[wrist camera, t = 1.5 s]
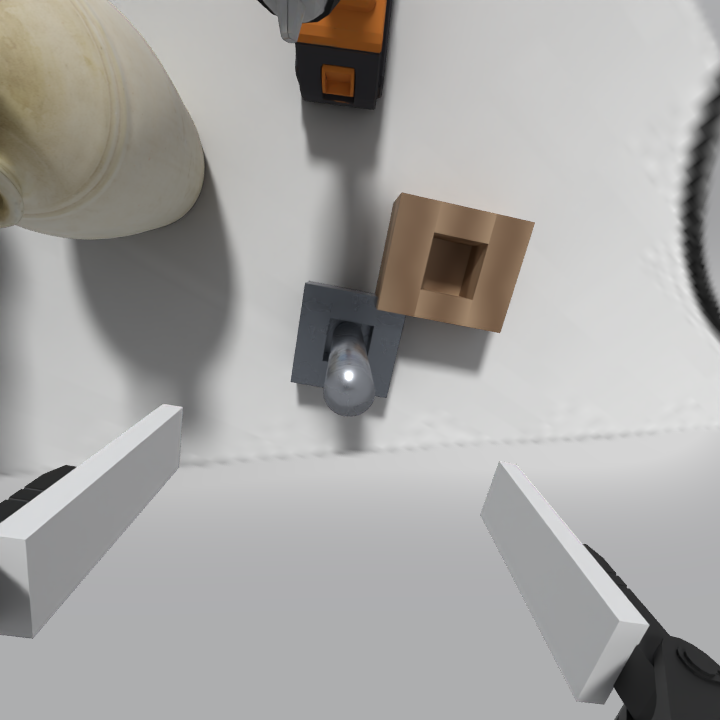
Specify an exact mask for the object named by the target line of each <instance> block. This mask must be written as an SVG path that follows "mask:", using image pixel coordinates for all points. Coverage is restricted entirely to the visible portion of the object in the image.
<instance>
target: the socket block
mask: <svg viewBox="0 0 720 720" xmlns="http://www.w3.org/2000/svg"><path fill="white" fill-rule="evenodd" d="M377 300H378V297H377V295H376V294H373V293H368V292H363V291H358V290H353V289H348V288H343V287H338V286H333V285H327V284H322V283H317V282H312V281H308V282H306V283H305V287H304V294H303V301H302V308H301V315H300V322H299V328H298V335H297V342H296V349H295V356H294V362H293V369H292V376H291V382H294V383H300V384H306V385H312V386H318V387H324V384H325V378H326V373H327V367H328V361H329V355H330V349H331V344H332V338H333V333H334V330H335V329H336V327H337V326H338V325H340V324H342V323H345V322H350V323H354V324H356V325H357V326H358V327H359V328H360V329H361V331H362V335H363V339H364V343H365V348H366V352H367V356H368V361H369V365H370V369H371V374H372V378H373V382H374V387H375V396H378V397H384V398H387V393H388V389H389V385H390V380H391V376H392V372H393V367H394V363H395V359H396V355H397V350H398V346H399V342H400V337H401V333H402V329H403V324H404V320H405V316H406V315H403V314H398V313H392V312H387V311H382V310H377V308H376V305H377Z"/></svg>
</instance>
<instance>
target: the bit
mask: <svg viewBox="0 0 720 720" xmlns="http://www.w3.org/2000/svg"><path fill="white" fill-rule="evenodd" d="M323 394H324V399H325V402H326V404H327V405H328V407H329V408H330V409H331V410H332V411H334V412H335V413H337V414H339V415H343V416H356V415H359V414H361V413H363V412H365V411H366V410H367V409H368V408H369V407H370V406H371V404H372V403H373V401H374V397H375V387H374V382H373V378H372V374H371V369H370V365H369V361H368V356H367V352H366V348H365V343H364V339H363V335H362V331H361V329H360V328H359V327H358V326H357V325H356V324H354V323H350V322H345V323H342V324H340V325H338V326H337V327H336V329H335V330H334V333H333V338H332V344H331V349H330V355H329V361H328V367H327V373H326V378H325V384H324V391H323Z"/></svg>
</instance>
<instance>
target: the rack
mask: <svg viewBox="0 0 720 720" xmlns="http://www.w3.org/2000/svg"><path fill="white" fill-rule="evenodd" d="M534 224H535V222H530V221H526V220H521V219H517V218H512V217H508V216H504V215H499V214H495V213H490V212H486V211H481V210H477V209H473V208H468V207H464V206H459V205H455V204H450V203H446V202H442V201H437V200H433V199H428V198H424V197H419V196H415V195H411V194H406V193H401V194H400V195H399V197H398V198H397V199H396V200H395V202H394V203H393V208H392V213H391V218H390V223H389V228H388V233H387V238H386V242H385V247H384V252H383V257H382V262H381V267H380V272H379V277H378V282H377V287H376V291H375V294H376V295H377V297H378V300H377V305H376V308H377V310H382V311H387V312H392V313H398V314H403V315H408V316H413V317H419V318H424V319H429V320H434V321H440V322H445V323H450V324H455V325H460V326H466V327H471V328H476V329H481V330H487V331H492V332H497V333H500V332H501V329H502V326H503V322H504V319H505V316H506V313H507V310H508V307H509V303H510V300H511V297H512V294H513V291H514V287H515V284H516V281H517V278H518V275H519V272H520V268H521V265H522V262H523V259H524V256H525V252H526V249H527V246H528V243H529V240H530V237H531V233H532V230H533V227H534Z"/></svg>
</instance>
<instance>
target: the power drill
mask: <svg viewBox="0 0 720 720" xmlns="http://www.w3.org/2000/svg"><path fill="white" fill-rule="evenodd" d="M258 1H259V2H260V3H261V4H262V5H263V6H264V7H265V8H266V9H267V10H268V11H270V12H271V13H272V14H274V15H276V16H278V21H279V27H280V33H281V37H282V39H283V40H285V41H286V42H288V43H295V47H296V61H295V70H296V76H297V79H298V82H299V85H300V91H301V94H302V97H303V100H304V101H312V102H320V103H327V104H335V105H343V106H350V107H358V108H365V109H373V110H374V109H375V105H376V99H377V98H380V97H381V95H382V88H383V81H384V72H385V62H386V53H387V44H388V35H389V25H390V16H391V7H392V0H258Z"/></svg>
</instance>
